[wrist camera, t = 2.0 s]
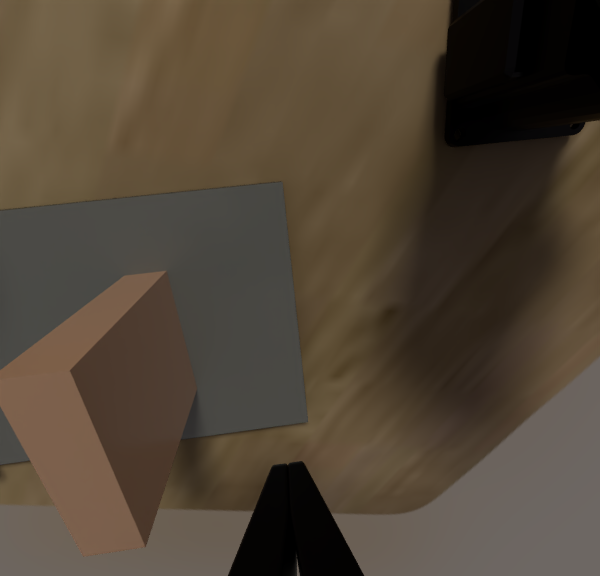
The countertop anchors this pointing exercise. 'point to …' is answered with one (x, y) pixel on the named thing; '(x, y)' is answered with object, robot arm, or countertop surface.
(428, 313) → the countertop surface
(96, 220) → the slate board
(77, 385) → the tile
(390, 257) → the countertop surface
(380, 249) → the countertop surface
